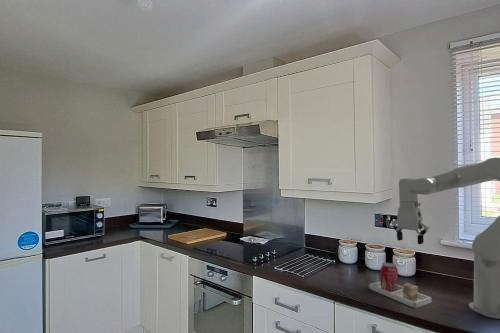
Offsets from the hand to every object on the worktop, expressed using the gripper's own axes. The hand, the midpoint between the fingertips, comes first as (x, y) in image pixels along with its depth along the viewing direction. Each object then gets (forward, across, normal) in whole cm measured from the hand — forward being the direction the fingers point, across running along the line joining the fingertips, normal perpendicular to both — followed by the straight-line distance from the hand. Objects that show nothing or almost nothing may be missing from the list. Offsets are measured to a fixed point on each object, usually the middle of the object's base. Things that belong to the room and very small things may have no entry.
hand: (409, 242), depth 139 cm
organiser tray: (+23, 0, +10) cm, 25 cm away
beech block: (+22, -5, +10) cm, 25 cm away
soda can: (+22, +5, +10) cm, 25 cm away
